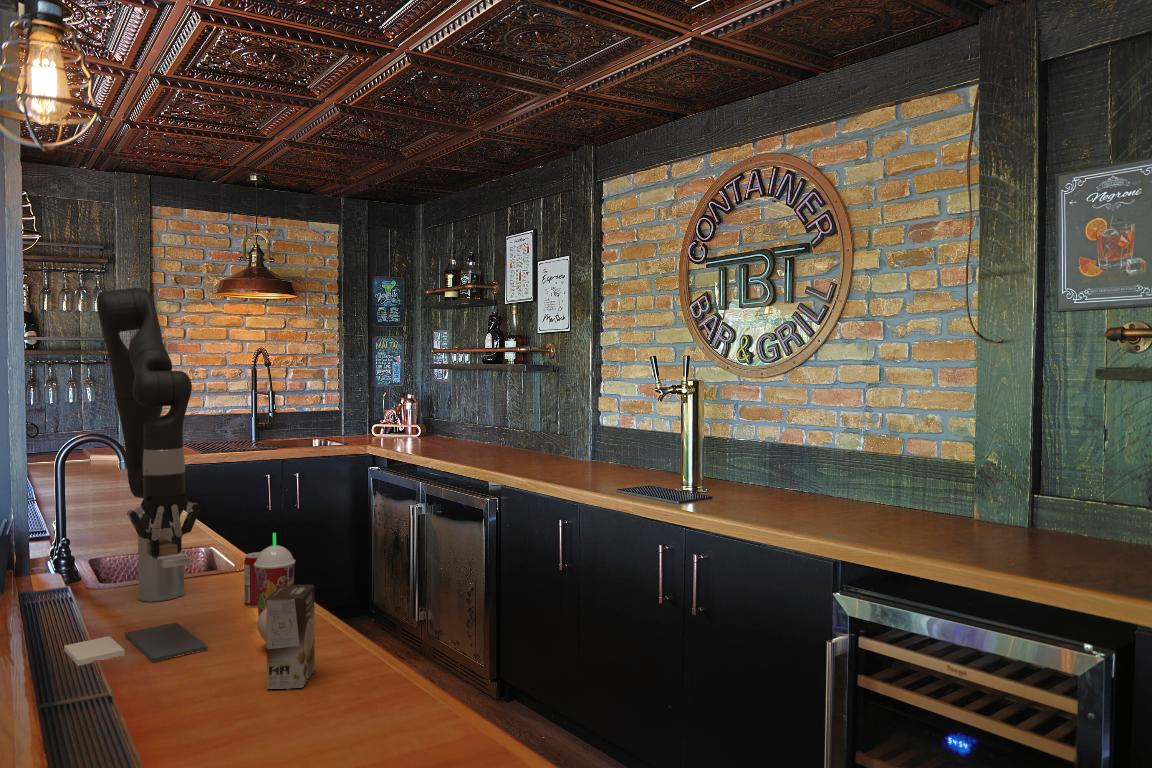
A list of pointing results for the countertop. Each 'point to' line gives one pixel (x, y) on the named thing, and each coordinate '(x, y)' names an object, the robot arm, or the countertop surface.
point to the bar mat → (165, 641)
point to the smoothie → (272, 572)
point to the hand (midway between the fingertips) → (165, 556)
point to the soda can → (250, 579)
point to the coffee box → (290, 636)
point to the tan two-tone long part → (169, 554)
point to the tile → (94, 650)
